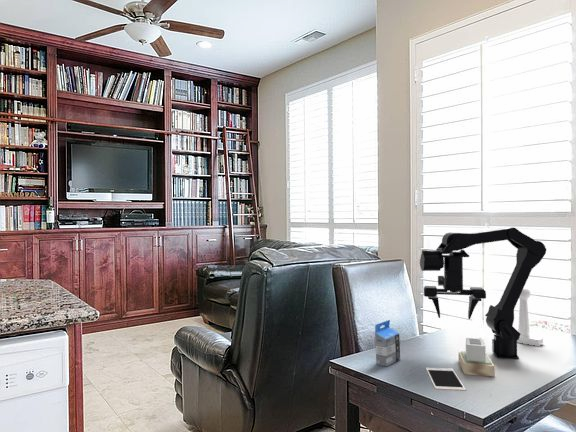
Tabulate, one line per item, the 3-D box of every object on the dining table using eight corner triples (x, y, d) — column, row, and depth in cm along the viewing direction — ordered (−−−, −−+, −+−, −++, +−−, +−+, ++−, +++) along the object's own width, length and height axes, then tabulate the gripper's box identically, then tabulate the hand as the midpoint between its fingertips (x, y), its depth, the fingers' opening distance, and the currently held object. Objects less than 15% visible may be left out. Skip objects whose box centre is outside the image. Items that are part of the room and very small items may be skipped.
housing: (483, 353, 130) (483, 338, 130) (485, 362, 123) (485, 345, 123) (465, 352, 132) (465, 336, 132) (466, 360, 125) (466, 344, 125)
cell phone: (452, 370, 127) (452, 368, 127) (466, 392, 111) (466, 389, 111) (425, 369, 128) (425, 367, 128) (435, 390, 112) (435, 388, 112)
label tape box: (386, 367, 129) (386, 326, 129) (375, 364, 132) (374, 324, 132) (400, 360, 136) (400, 321, 136) (389, 357, 139) (388, 319, 139)
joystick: (505, 340, 157) (504, 285, 157) (514, 336, 162) (513, 283, 162) (538, 346, 148) (537, 289, 148) (546, 342, 153) (545, 286, 153)
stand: (486, 362, 132) (486, 351, 132) (494, 376, 121) (494, 364, 121) (458, 360, 134) (458, 350, 134) (464, 374, 123) (464, 362, 123)
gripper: (479, 268, 146) (480, 314, 146) (422, 267, 151) (422, 311, 151) (486, 272, 135) (486, 321, 135) (424, 271, 140) (424, 319, 140)
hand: (454, 318), depth 140 cm, fingers open, 9 cm apart
